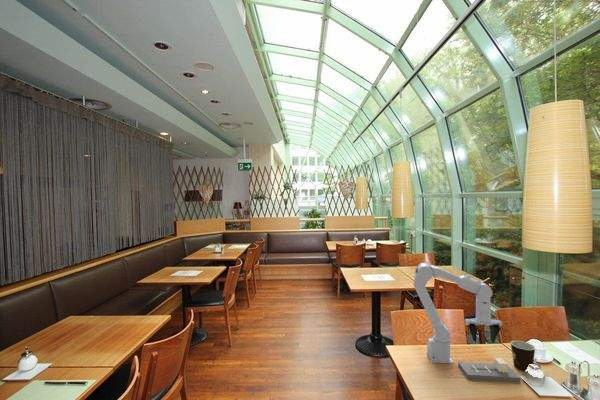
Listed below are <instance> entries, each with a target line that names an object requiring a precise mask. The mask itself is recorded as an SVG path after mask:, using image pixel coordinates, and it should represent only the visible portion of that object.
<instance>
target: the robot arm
mask: <svg viewBox="0 0 600 400" xmlns="http://www.w3.org/2000/svg"><path fill="white" fill-rule="evenodd" d="M413 278H414V279H413V284H412V285H413V287H414V290H415V291H416V293H417V295H418V297H419V301H420V302H421V304H422V306H423V308H424V310H425V312H426V315H427V317H428V319H429V320H430V323H431V324H432V330H433V332H434V334H433V336H432V337H431V338H427V341H426V345H427V346H426V350H427V352H426V355H427V357H428V358H429V359H430V361H431V363H442V364H454V363H455V362H454V360H453V359H452V358H451V333H450V332H449V329H448V326H447V325H446V323H445V322H443V321H442V319H441V317H440V314H439V313H438V310H437V308H436V307H435V305H434V302H433V300H432V298H431V296H430V294H429V292H428V290H427V288H426V285H427V284H428V282H429V281H430V280H432V278H433V279H436V278H442V279H445V280H448V281H450V282H454V283H456V284H457V286H458V287H459V288H461V289H463V290H465V291H468V292H471V293H472V294H475V318H465V319H464V322H465V325H467V327H468V329H469V331H470V334H471V337H472V338H471V339H472V341H473V342H477V333H478V327H476V326H477V325H478V326H480V325H481V326H489V332H490V337H489V339H490V341H491V343H496V338H497V335H498V334H499V333H500V331H501V327H502V326H503V321H501V320H500V319H492V310H491V309H492V308H491V306H492V301H491V298H492V296H493V294H494V293H493V290H492V287H490V286H489V285H488V284H487V283H485V282H483V281H481V280H476V279H474V278H471V276H470V275H468V274H466V275H464V274H463V275H460V276H459V275H457V274H454V273H452V272H450V271H448V270H446V269H443V268H441V267H439V266H436V265H434V264H429V263H427V262H420V263H419V264H418V265H417V266H416V268H415V270H414V277H413Z"/></svg>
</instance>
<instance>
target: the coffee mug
mask: <svg viewBox="0 0 600 400" xmlns="http://www.w3.org/2000/svg"><path fill="white" fill-rule="evenodd" d="M510 347H511V348H510V349H511V355H512V359H513V360H512V361H513V362H512V363H513V368H515V369H516V370H517V371H520V372H523V373H526V372H525V370H526V369H527V367H528V365H529V364H533V365H534V359H535V353H536V346H534V345H533V344H531V343H529V342H526V341H523V340H522V341H521V340H512V341H510Z"/></svg>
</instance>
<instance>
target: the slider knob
mask: <svg viewBox="0 0 600 400" xmlns="http://www.w3.org/2000/svg"><path fill="white" fill-rule="evenodd" d="M493 364H494V367H495V368H496V369H497V370H498V371H499V372H506V373H507V365H508V363H507V362H506V361H505V360H504V359H503V358H500V357H499V358H498V357H493Z"/></svg>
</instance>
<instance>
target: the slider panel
mask: <svg viewBox="0 0 600 400" xmlns="http://www.w3.org/2000/svg"><path fill="white" fill-rule="evenodd" d="M457 364H458V365H457V368H459V369H460V371H461V372H462V374H463V375H464V377H466V379H467V380H469V381H484V382H486V381H487V382H500V383H501V382H502V383H515V384H517V383H518V384H519V383H522V382H521V380H522V379H521V378H522V377H521V376H520V375H519V374H517V373H516V372H515V371H514V370H513V369H512V368H511V367H510V366H509V365H508V364H507V373H506V372H499V371H498V370H497V369H496V368H495V367H494V363H488V362H487V363H484V362H483V363H482V362H467V361H458V362H457Z"/></svg>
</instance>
